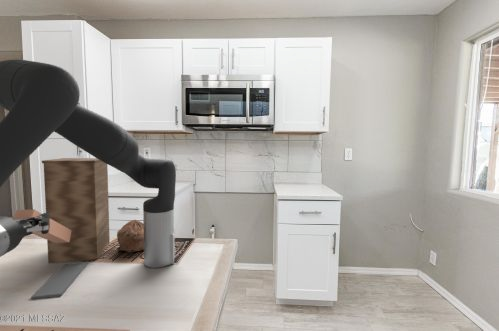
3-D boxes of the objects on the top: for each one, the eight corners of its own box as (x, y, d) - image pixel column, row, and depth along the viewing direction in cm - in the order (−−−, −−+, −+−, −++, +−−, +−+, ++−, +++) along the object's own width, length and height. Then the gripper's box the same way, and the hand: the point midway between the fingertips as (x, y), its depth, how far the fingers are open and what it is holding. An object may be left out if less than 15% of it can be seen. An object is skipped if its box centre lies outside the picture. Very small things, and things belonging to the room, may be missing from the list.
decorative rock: (121, 243, 100) (121, 217, 99) (152, 240, 102) (152, 216, 102) (112, 257, 87) (111, 228, 86) (147, 254, 90) (147, 226, 89)
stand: (110, 242, 99) (108, 158, 97) (98, 259, 85) (94, 160, 83) (67, 245, 96) (63, 158, 93) (46, 263, 82) (41, 160, 79)
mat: (88, 263, 82) (88, 261, 82) (61, 295, 65) (61, 293, 65) (64, 265, 81) (64, 263, 81) (31, 299, 63) (30, 296, 63)
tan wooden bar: (69, 242, 77) (71, 230, 79) (30, 224, 58) (34, 209, 59) (55, 243, 76) (58, 231, 78) (11, 225, 57) (16, 210, 59)
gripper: (28, 219, 48) (69, 201, 65) (-67, 224, 45) (1, 203, 62) (30, 259, 49) (70, 230, 66) (-64, 266, 46) (3, 234, 62)
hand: (36, 217), depth 64 cm, fingers closed on tan wooden bar, 3 cm apart
